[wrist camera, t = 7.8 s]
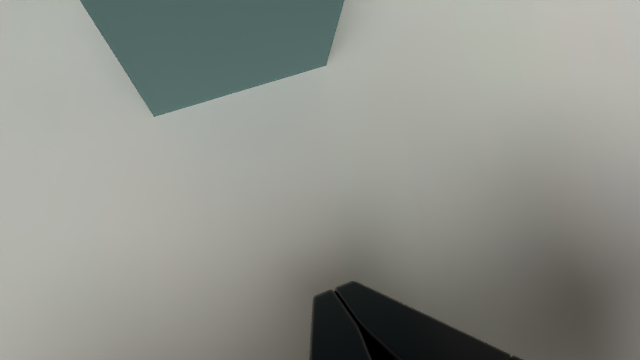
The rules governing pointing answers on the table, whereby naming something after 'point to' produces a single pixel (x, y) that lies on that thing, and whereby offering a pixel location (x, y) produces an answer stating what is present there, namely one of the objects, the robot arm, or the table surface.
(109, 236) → the table surface
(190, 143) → the table surface
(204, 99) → the teal box
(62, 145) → the table surface
